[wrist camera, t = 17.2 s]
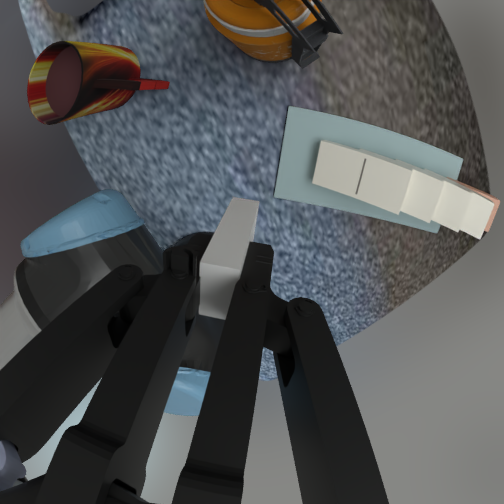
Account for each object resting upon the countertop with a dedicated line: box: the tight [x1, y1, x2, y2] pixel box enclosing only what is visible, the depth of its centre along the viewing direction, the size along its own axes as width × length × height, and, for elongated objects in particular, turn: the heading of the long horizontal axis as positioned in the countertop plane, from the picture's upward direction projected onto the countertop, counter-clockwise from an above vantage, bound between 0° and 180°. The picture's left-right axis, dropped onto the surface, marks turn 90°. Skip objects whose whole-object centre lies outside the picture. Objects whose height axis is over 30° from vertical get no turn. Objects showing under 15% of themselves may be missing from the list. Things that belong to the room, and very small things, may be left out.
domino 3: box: [396, 159, 473, 232], centre depth 29 cm, size 2×5×11 cm
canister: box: [203, 0, 343, 69], centre depth 17 cm, size 9×11×20 cm
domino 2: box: [359, 148, 444, 223], centre depth 30 cm, size 2×5×11 cm
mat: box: [274, 106, 463, 233], centre depth 32 cm, size 25×12×1 cm, turn 83°
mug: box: [27, 41, 170, 125], centre depth 24 cm, size 10×14×12 cm
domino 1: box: [312, 140, 413, 215], centre depth 30 cm, size 2×5×11 cm
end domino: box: [447, 177, 500, 232], centre depth 31 cm, size 2×5×11 cm
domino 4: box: [424, 168, 494, 239], centre depth 29 cm, size 2×5×11 cm
